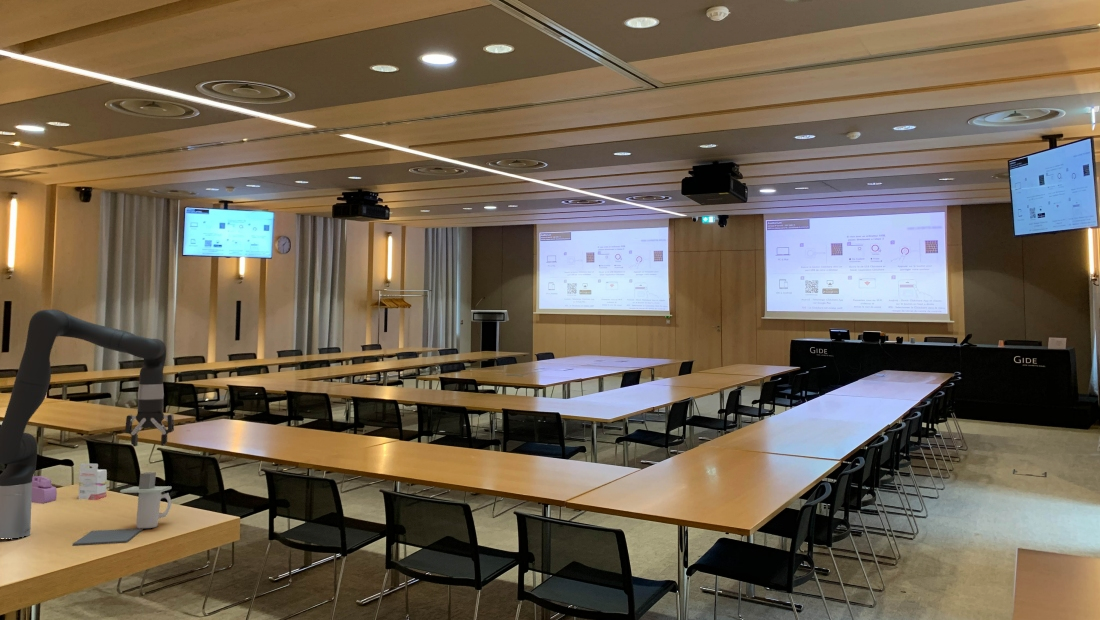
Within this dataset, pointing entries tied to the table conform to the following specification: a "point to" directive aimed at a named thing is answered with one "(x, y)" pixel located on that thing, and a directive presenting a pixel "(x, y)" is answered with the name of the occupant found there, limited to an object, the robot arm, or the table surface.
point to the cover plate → (136, 489)
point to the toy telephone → (42, 490)
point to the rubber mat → (108, 536)
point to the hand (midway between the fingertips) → (149, 445)
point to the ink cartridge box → (92, 482)
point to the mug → (150, 509)
